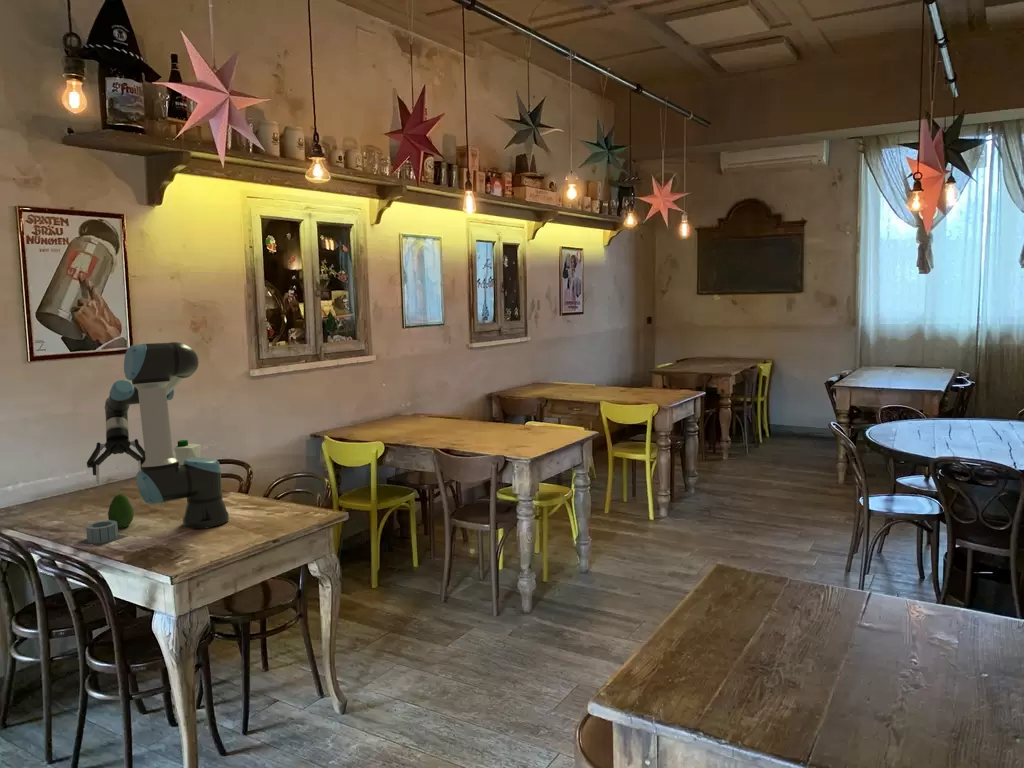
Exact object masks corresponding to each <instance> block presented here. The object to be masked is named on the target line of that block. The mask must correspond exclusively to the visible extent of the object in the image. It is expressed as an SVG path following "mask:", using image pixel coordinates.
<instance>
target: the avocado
mask: <svg viewBox="0 0 1024 768" xmlns="http://www.w3.org/2000/svg"><path fill="white" fill-rule="evenodd" d="M134 516H135V515H134V508H133V506H132V504H131V503H130V500H129V498H128V497H127V495H124V493H119V494H118V493H117V495H115V496H114V497H113V499H112V501H111V503H110V504H109V509H108V511H107V518H108V520H113V521H117V525H118V529H123V528H128V527H129V526H130V525H131V524H132V521H133V520H134Z"/></svg>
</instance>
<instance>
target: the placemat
mask: <svg viewBox="0 0 1024 768" xmlns="http://www.w3.org/2000/svg"><path fill="white" fill-rule="evenodd" d="M127 537H129V535H125V534H121V533H120V534H119V533H118V538H117V539H115V540H113V541H110V542H105V543H97V544H93V545H92V546H94V545H95V546H94V547H102V546H105V545H107V544H110V543H113V542H116V541H118V540H121V539H124V538H127ZM76 543H78V544H85V545H88V544H92V543H88V542H87V538H85V539H80V540H79V541H76Z"/></svg>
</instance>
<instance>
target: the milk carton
mask: <svg viewBox="0 0 1024 768" xmlns="http://www.w3.org/2000/svg"><path fill="white" fill-rule="evenodd" d="M201 448H202V444H198V443H189V440H186V439H181V440H177V446H175V447H173V450H174V453H175V458H176V459H177V460H179V465H183V464H184V460H185V459H189V458H201Z"/></svg>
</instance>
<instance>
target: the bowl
mask: <svg viewBox="0 0 1024 768" xmlns="http://www.w3.org/2000/svg"><path fill="white" fill-rule="evenodd" d="M85 532H86V533H85V534H86V539H87V542H88V543H92V544H97V543H105V542H110V541H113V540H115V539H117V538H118V534H119V528H118V525H117V521H113V520H109V519H108V520H100V521H94V522H91V523H89V524H87V525H86V526H85ZM113 542H114V541H113Z"/></svg>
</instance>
